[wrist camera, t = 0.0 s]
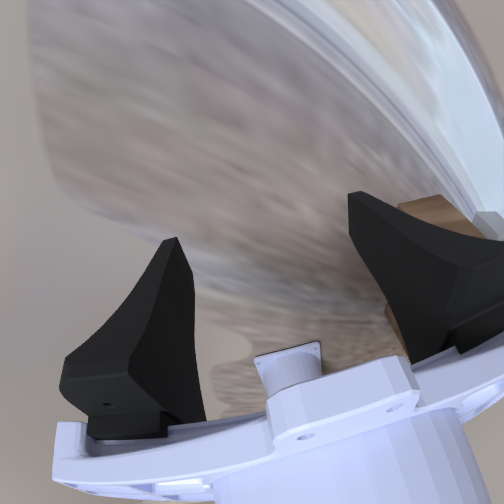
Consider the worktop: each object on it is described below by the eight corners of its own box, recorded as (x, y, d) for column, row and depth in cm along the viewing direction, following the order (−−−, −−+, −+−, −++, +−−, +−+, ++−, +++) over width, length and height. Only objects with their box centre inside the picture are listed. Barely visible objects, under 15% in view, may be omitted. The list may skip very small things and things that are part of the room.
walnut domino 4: (438, 208, 26) (488, 260, 20) (396, 219, 26) (444, 277, 20) (440, 194, 25) (493, 244, 19) (397, 204, 25) (449, 261, 19)
